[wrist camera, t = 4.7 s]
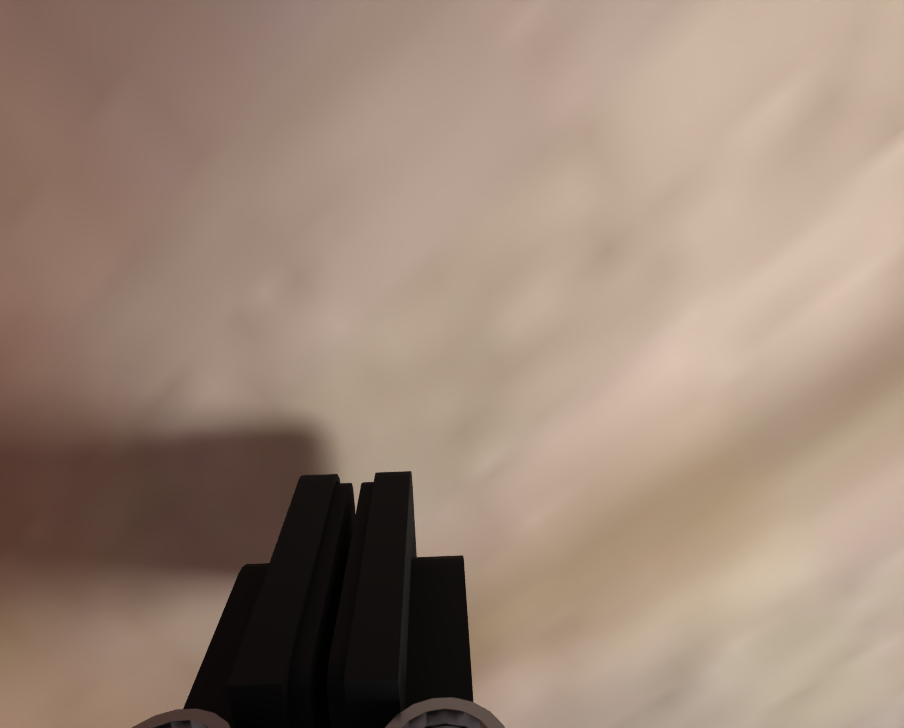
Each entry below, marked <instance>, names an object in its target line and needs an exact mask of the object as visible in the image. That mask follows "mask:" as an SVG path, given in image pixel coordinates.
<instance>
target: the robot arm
mask: <svg viewBox="0 0 904 728" xmlns="http://www.w3.org/2000/svg"><path fill="white" fill-rule="evenodd" d="M132 728H505V727H504V725H503V724H502V723H501V722H500V721H499V720H498V719H497V718H496V717H495V716H494V715H493V714H492V713H491V712H490V711H488V710H487V709H485V708H483V707H481V706H479V705H477V704H476V703H474V702H473V690H472V675H471V660H470V645H469V630H468V616H467V601H466V586H465V571H464V558H463V556H439V557H417V556H416V538H415V521H414V504H413V486H412V474H411V471H406V472H380V473H375V478H374V482H365V483H362V484H361V489H360V494H359V499H358V505H357V510H356V514H355V503H354V493H353V486H352V484H351V483H340V479H339V476H338V474H329V475H303V476H301V477H300V479H299V481H298V484H297V487H296V490H295V493H294V495H293V498H292V501H291V504H290V507H289V510H288V512H287V515H286V518H285V521H284V524H283V527H282V530H281V532H280V535H279V538H278V541H277V544H276V547H275V549H274V552H273V555H272V558H271V561H270V563H266V564H246V565H245V566H243V567H242V569H241V571H240V572H239V574H238V576H237V579H236V581H235V584H234V586H233V589H232V591H231V594H230V596H229V598H228V601H227V603H226V606H225V608H224V611H223V613H222V616H221V618H220V620H219V623H218V625H217V628H216V630H215V633H214V635H213V638H212V640H211V642H210V645H209V647H208V650H207V652H206V655H205V657H204V660H203V662H202V664H201V667H200V669H199V672H198V674H197V677H196V679H195V682H194V684H193V686H192V689H191V691H190V694H189V696H188V699H187V701H186V704H185V706H184V708H183V709H177V710H173V711H169V712H166V713H162V714H159V715H156V716H153V717H151V718H149V719H147V720H145V721H143V722H141V723H140V724H138V725H136V726H134V727H132Z"/></svg>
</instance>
